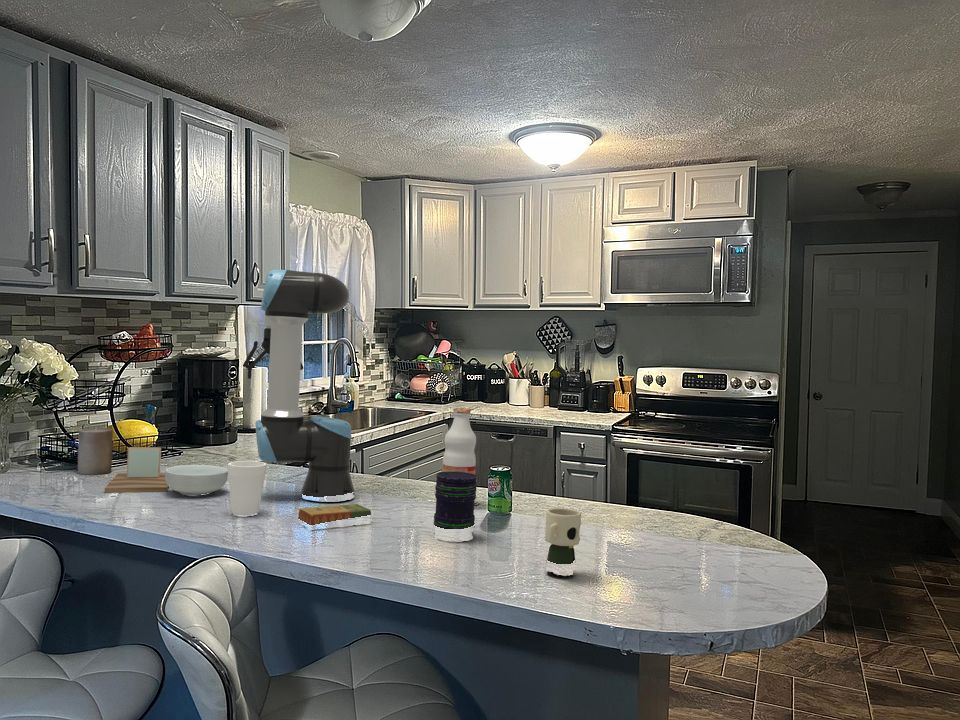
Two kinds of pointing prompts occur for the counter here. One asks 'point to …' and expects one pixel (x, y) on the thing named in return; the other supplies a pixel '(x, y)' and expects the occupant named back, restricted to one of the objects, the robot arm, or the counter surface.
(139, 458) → the tile
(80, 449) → the pillar candle
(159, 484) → the board
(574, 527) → the character mug
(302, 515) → the brown and green block
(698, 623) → the counter surface
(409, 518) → the counter surface
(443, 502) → the storage jar
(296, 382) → the robot arm
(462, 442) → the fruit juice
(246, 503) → the foam cup
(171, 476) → the cereal bowl
